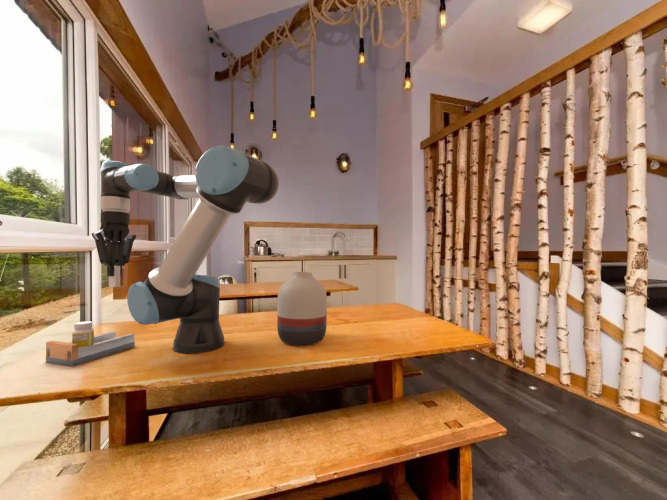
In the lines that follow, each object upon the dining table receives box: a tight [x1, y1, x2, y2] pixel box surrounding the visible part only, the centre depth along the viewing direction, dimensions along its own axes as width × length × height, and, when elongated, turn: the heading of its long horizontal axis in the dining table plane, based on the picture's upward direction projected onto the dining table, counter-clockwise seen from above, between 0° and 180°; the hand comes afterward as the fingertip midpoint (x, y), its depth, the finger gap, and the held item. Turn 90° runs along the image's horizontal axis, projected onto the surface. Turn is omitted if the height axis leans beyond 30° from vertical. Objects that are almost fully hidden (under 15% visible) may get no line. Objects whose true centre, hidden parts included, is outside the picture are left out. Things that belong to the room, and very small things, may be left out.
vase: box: [276, 271, 328, 347], centre depth 105 cm, size 17×17×24 cm
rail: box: [45, 331, 136, 367], centre depth 90 cm, size 10×18×6 cm, turn 163°
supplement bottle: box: [71, 320, 95, 348], centre depth 86 cm, size 5×5×8 cm
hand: (114, 286), depth 95 cm, fingers closed
